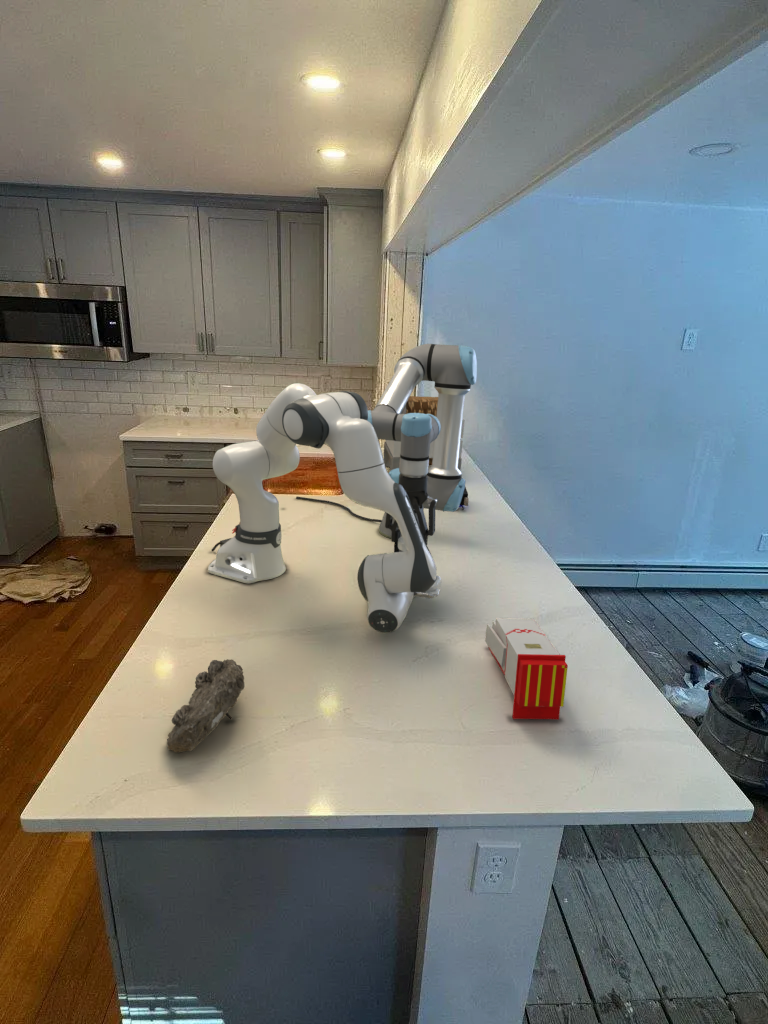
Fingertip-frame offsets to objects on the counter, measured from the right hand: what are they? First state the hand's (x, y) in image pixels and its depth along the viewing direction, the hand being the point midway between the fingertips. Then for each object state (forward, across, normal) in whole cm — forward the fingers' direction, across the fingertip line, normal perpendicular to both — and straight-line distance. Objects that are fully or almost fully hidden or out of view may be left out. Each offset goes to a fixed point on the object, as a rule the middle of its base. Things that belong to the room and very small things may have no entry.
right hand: (408, 554), depth 155 cm
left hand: (+5, 0, -1) cm, 5 cm away
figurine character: (+11, +3, -80) cm, 81 cm away
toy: (+11, -34, +28) cm, 46 cm away
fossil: (+11, +19, +64) cm, 67 cm away
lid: (-4, 0, 0) cm, 4 cm away
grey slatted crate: (+11, +30, -120) cm, 124 cm away
